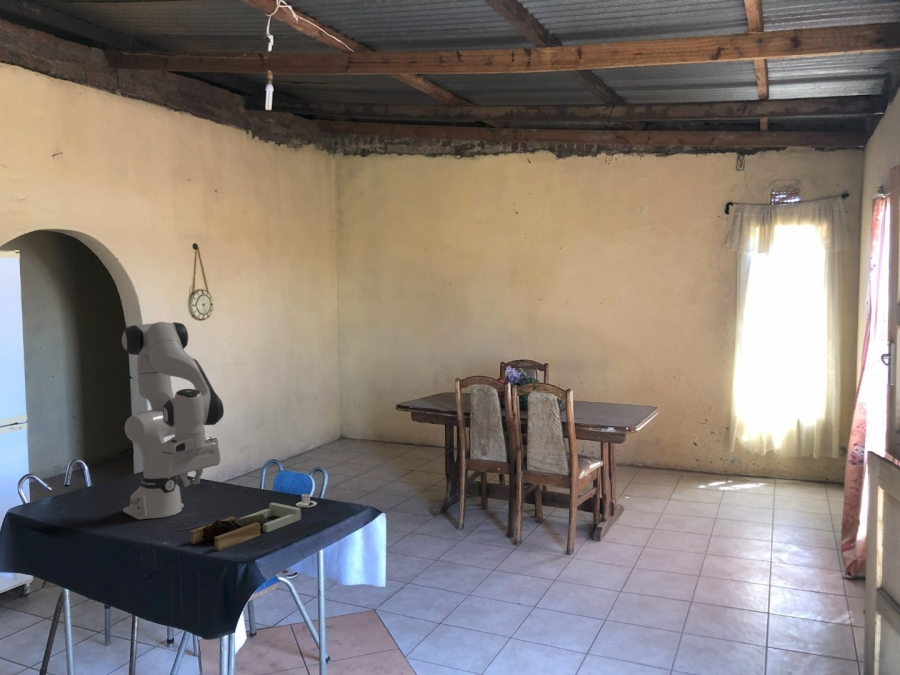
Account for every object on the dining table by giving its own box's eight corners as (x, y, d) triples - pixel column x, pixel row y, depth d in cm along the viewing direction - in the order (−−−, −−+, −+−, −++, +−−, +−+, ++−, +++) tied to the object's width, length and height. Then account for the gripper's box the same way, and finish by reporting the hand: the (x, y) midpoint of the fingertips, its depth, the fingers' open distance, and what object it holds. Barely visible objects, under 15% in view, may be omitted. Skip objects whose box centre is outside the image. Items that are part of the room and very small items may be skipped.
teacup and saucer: (304, 510, 261) (304, 499, 260) (289, 507, 265) (289, 496, 265) (321, 504, 268) (320, 493, 268) (306, 501, 272) (305, 490, 272)
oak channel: (190, 542, 226) (190, 530, 226) (232, 527, 240) (232, 516, 240) (219, 550, 218) (218, 538, 218) (260, 535, 233) (260, 523, 232)
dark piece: (258, 526, 242) (257, 507, 242) (269, 532, 237) (269, 513, 236) (200, 541, 228) (199, 521, 227) (211, 547, 222) (210, 527, 222)
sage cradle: (239, 525, 243) (238, 514, 242) (273, 513, 256) (273, 502, 256) (267, 532, 235) (266, 520, 235) (301, 519, 249) (300, 508, 248)
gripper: (211, 434, 227) (212, 476, 228) (155, 446, 210) (156, 491, 211) (223, 436, 224) (225, 478, 225) (168, 448, 207) (169, 494, 207)
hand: (191, 485), depth 218 cm, fingers closed
